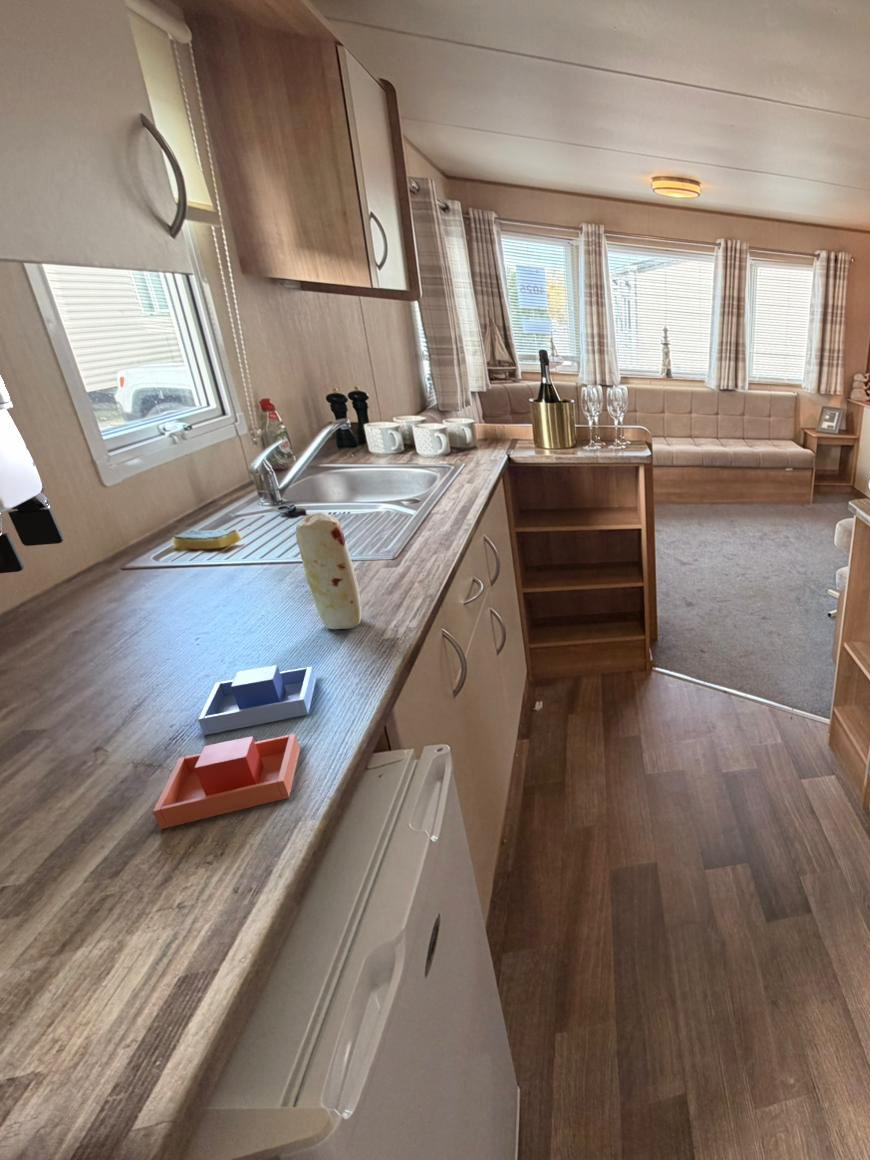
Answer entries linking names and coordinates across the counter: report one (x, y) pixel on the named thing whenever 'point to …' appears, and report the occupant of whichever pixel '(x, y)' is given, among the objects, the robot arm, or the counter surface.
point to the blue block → (258, 687)
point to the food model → (329, 571)
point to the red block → (229, 766)
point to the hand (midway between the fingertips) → (24, 557)
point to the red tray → (191, 804)
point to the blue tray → (227, 716)
